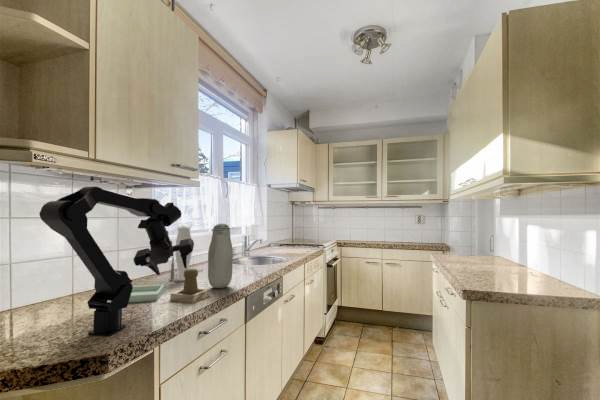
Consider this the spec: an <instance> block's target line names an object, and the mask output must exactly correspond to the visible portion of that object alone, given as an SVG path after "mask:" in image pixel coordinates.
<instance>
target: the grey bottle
mask: <svg viewBox="0 0 600 400" xmlns="http://www.w3.org/2000/svg"><path fill="white" fill-rule="evenodd" d="M207 252H208V253H207V280H208V284H209V285H210V286H211V287H212V288H215V289H223V288H226V287H228V286H229V285H230V283H231V281H232V279H233V261H234V248H233V244H232V240H231V228H230V226H229V225H228V224H227V223H217V224H215V225H214V226H213V228H212V234H211V241H210V243H209V247H208V251H207Z"/></svg>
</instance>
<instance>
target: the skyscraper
mask: <svg viewBox="0 0 600 400" xmlns="http://www.w3.org/2000/svg"><path fill="white" fill-rule="evenodd" d="M187 224H190V226H188V225H187ZM192 225H193V222H191V221H190V222H189V221H186V222H183V223H182V224H181V225H179V226H177V231H178V233H177V234H176V242H175V245H179V244H180V240H185V239H189V238H191V239H192V235H191V228H192ZM174 253H175V256H174ZM174 253H173V256H171V257H172V258H171V261H172V262H171V263H170V264H171V268H170V269H171V270H170V271H171V272H170V279H169V281H172V282H175V283H181V282H185V277H184V271H185V270H187V269H189V268H190V267H189V266H190V265H191V264H190V263H191V258H192V253H193V251H192V252H191V253H190V254H189V255H187V267H186V269H185V267H184V265H183V261H182V257H181V256H180V255H181V253H180V251H175V252H174ZM175 261H176V267H177V271H176V273H175Z"/></svg>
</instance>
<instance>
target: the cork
mask: <svg viewBox="0 0 600 400" xmlns="http://www.w3.org/2000/svg"><path fill="white" fill-rule="evenodd" d="M198 275H199V271H198V270H197V269H195V268H188V269H187V270H185V271H184V277H185V281H183V294H188V295H193V294H196V293H198V281H197V277H198Z"/></svg>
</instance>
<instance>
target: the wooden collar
mask: <svg viewBox="0 0 600 400" xmlns="http://www.w3.org/2000/svg"><path fill="white" fill-rule="evenodd" d="M183 289H184V288H183ZM183 289H180V290H176V291H174V292H171V293H170V299H169V300H170V301H173V302H180V303H181V302H182V303H189V304H194V303H196V302H198V301H201V300H204V299H205V298H208V297H210V289H208V288H207V289H206V288H198V293H196V294H193V295H188V294H183Z"/></svg>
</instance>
